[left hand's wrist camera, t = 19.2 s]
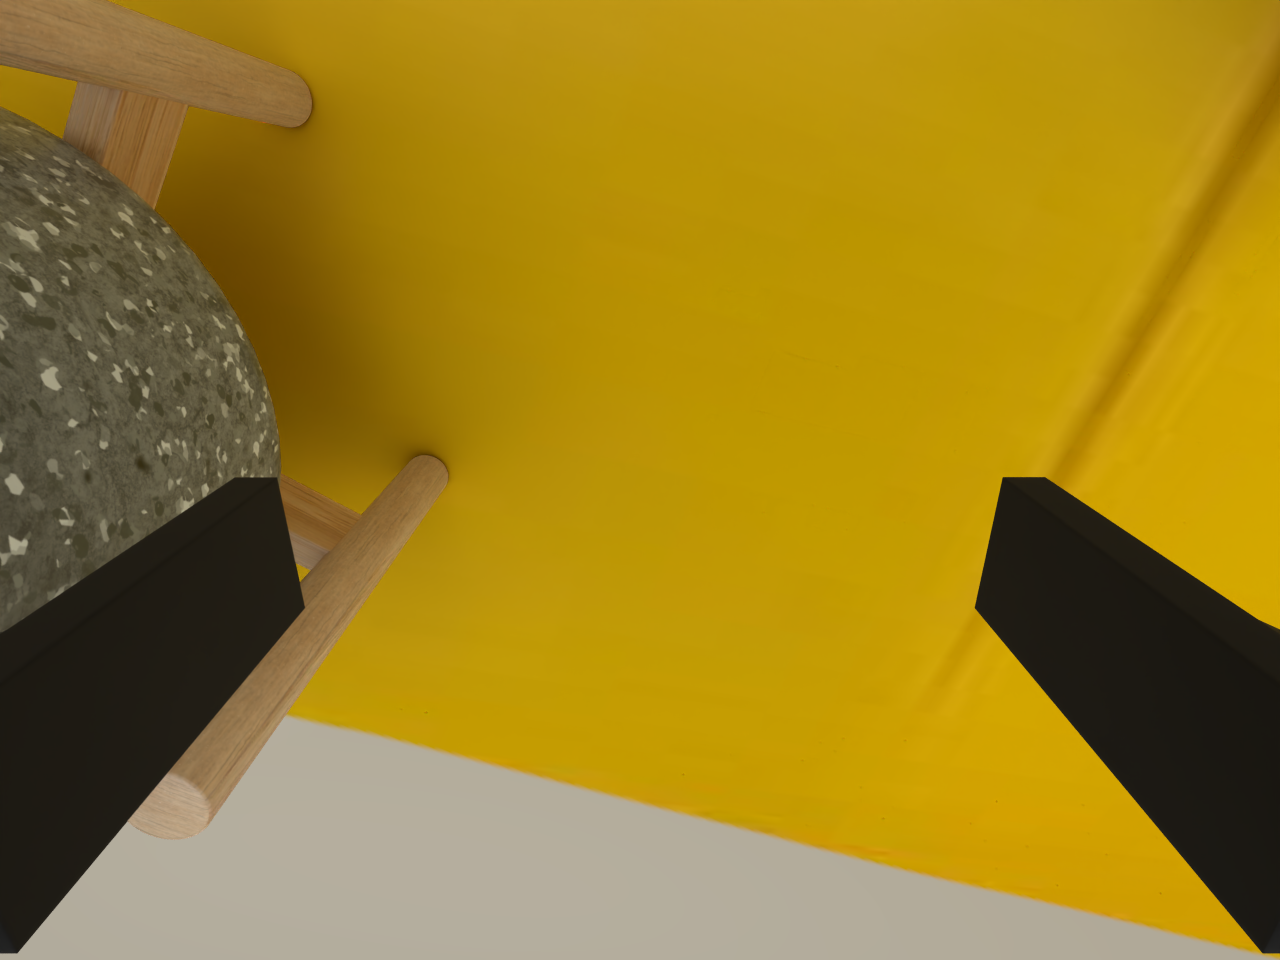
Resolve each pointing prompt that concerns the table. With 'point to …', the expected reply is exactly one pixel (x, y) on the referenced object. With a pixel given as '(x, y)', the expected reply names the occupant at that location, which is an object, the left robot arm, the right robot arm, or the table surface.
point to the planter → (150, 364)
